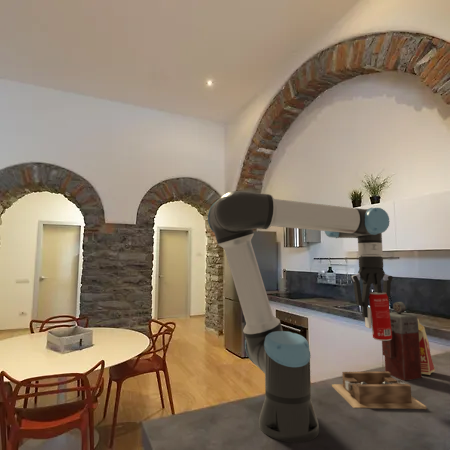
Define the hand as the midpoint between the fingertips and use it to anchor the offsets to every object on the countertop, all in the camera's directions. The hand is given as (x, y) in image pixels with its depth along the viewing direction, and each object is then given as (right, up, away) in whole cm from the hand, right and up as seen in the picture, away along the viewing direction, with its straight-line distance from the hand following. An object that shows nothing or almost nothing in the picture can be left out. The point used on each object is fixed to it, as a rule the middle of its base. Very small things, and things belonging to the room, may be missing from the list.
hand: (373, 327), depth 107 cm
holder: (0, -22, -2) cm, 23 cm away
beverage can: (+2, -4, -2) cm, 4 cm away
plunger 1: (-6, -20, -2) cm, 21 cm away
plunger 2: (+6, -20, -1) cm, 21 cm away
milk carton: (+30, -26, +25) cm, 47 cm away
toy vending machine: (+19, -25, +19) cm, 37 cm away
